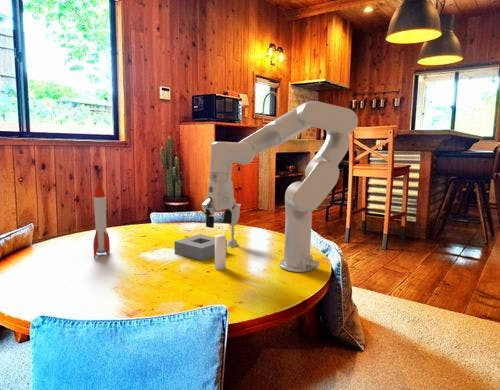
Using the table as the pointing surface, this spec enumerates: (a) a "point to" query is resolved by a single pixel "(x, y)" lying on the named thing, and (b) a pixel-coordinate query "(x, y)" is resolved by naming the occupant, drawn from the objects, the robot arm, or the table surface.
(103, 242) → the toy rocket
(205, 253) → the socket block
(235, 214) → the chalice
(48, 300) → the table surface
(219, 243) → the peg
